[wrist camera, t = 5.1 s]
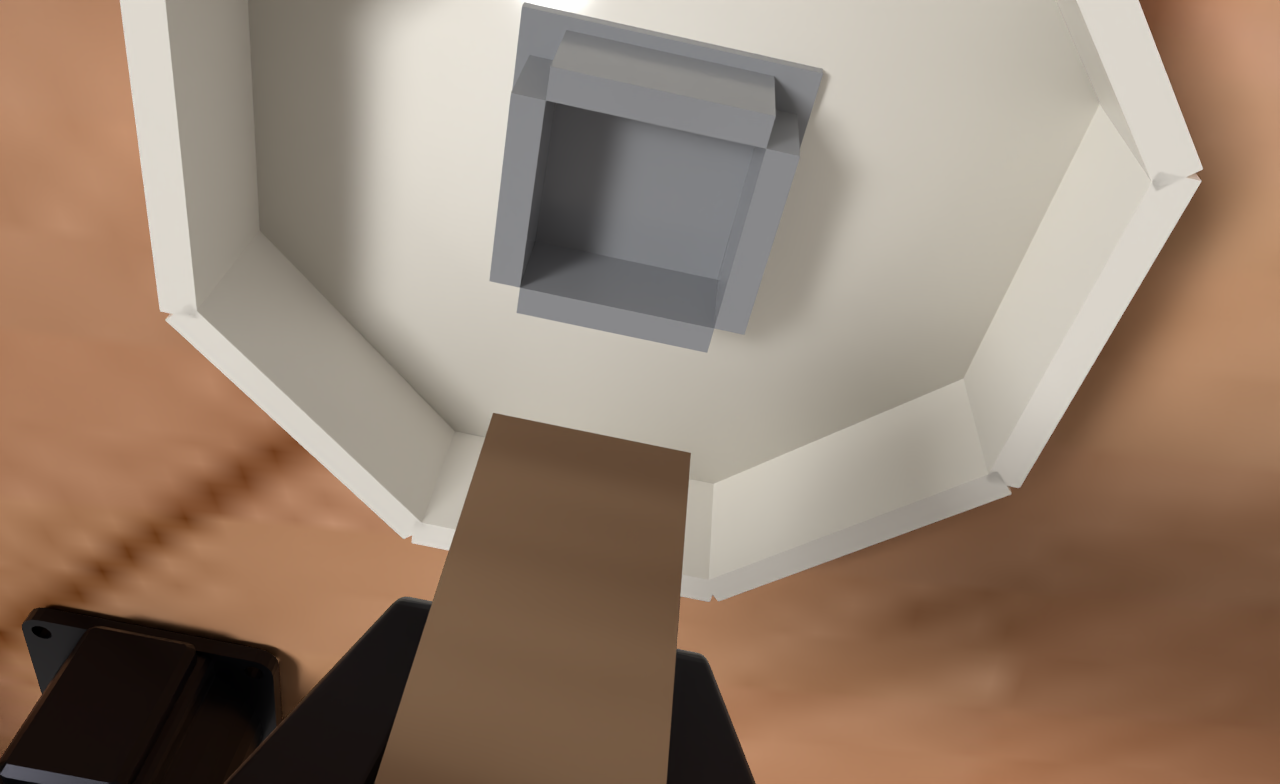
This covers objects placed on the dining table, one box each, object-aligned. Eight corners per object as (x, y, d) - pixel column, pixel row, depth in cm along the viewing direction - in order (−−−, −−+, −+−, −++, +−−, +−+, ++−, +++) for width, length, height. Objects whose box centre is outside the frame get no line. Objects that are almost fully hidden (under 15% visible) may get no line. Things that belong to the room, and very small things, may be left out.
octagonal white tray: (907, 524, 22) (926, 644, 19) (251, 391, 21) (183, 498, 19) (1291, -224, 13) (1416, -180, 11) (195, -490, 13) (53, -510, 10)
